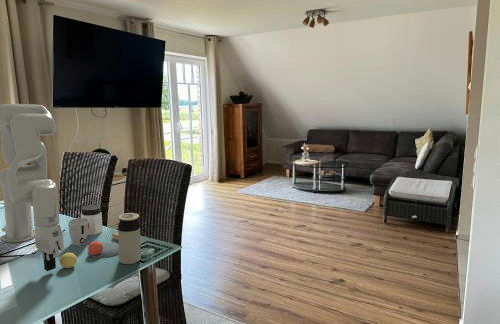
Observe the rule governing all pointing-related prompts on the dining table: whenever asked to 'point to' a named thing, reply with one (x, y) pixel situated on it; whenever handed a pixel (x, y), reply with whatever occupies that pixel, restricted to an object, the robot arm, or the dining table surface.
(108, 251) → the slate mark
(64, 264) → the ochre ball
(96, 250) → the red ball
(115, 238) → the wooden stick
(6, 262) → the dining table surface
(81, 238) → the cup
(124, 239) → the travel mug
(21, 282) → the dining table surface
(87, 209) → the jar
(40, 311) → the dining table surface
